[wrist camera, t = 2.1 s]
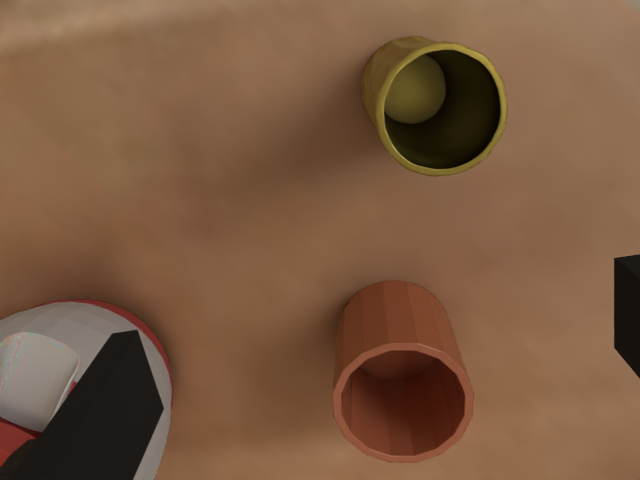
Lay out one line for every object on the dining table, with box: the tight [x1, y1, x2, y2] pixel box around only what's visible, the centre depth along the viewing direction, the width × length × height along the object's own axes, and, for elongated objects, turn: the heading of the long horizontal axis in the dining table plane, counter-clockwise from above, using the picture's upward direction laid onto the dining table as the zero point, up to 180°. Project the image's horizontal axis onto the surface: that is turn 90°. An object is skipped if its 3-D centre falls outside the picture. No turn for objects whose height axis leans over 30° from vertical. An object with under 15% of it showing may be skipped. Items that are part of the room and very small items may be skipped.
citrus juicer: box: [0, 299, 173, 480], centre depth 34 cm, size 16×17×20 cm
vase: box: [361, 36, 508, 176], centre depth 30 cm, size 6×6×14 cm
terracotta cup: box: [333, 281, 474, 463], centre depth 38 cm, size 8×8×9 cm
